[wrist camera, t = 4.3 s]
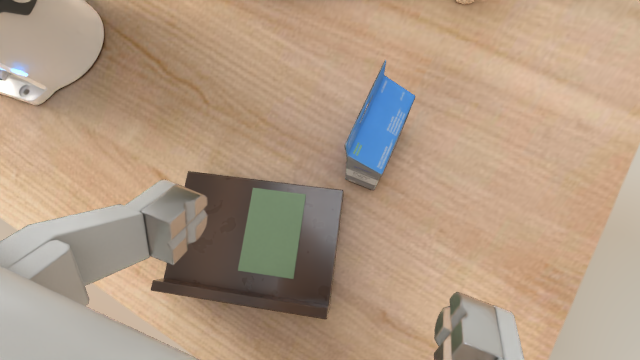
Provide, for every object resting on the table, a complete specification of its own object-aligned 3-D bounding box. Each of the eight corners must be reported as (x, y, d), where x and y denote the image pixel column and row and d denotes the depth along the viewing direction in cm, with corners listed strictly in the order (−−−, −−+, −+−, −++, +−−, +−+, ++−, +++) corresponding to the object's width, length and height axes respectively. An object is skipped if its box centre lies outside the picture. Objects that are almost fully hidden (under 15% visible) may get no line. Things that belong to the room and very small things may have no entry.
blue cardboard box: (374, 192, 38) (387, 166, 26) (343, 179, 38) (343, 147, 26) (402, 127, 39) (428, 73, 27) (373, 115, 40) (384, 57, 28)
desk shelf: (175, 285, 37) (150, 290, 33) (199, 176, 40) (179, 166, 35) (329, 309, 36) (326, 319, 31) (343, 194, 38) (343, 186, 33)
